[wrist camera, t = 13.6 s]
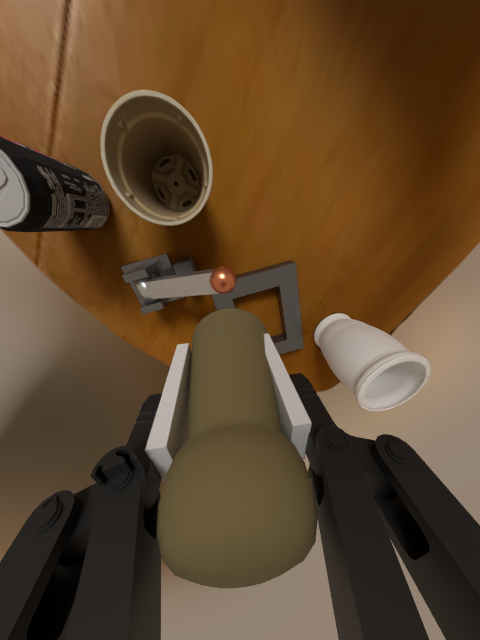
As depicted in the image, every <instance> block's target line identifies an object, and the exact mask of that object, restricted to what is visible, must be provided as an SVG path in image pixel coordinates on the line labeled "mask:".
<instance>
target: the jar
mask: <svg viewBox="0 0 480 640" xmlns="http://www.w3.org/2000/svg"><path fill="white" fill-rule="evenodd" d="M314 340H315V343H316V344H317V345H318V346H319V347H320V348H321V351H322V354H323V356H324V357H325V359H326V361H327V363H328V365H329V366H330V368H331V370H332V371H333V373H334V374H335V375H336V377H337V378H338V379H339V380H340V381H341V382H342V383H343V384H344V385H345V386H346V387H347V388H348V389H349V390H350V391H352V392H353V393H354V394H355V398H356V400H357V401H358V403H359V404H360V405H361V406H362V407H363V408H364V409H367V410H370V411H382V410H387V409H390V408H393V407H396V406H398V405H400V404H402V403H404V402H406V401H407V400H409V399H410V398H412V397H413V396H414V395H415V394H417V393H418V392H419V391H420V390H421V388H422V387H423V386H424V385H425V384H426V382H427V381H428V379H429V377H430V374H431V363H430V361H429V360H428V359H427V358H426V357H424V356H422V355H421V354H418V353H416V352H411V351H408V350H407V348H406V347H404V346H403V345H402V344H401V343H400V342H399V341H397V340H396V339H395V338H393V337H392V336H390V335H389V334H387V333H386V332H384V331H382V330H380V329H378V328H375V327H373V326H370V325H367V324H365V323H363V322H361V321H358V320H354V319H351V318H350V317H349V316H348V315H346V314H342V313H337V314H332V315H330V316H328V317H326V318H325V319H323V320H322V321H321V322H320V323H319V324H318V326H317V327H316V329H315V332H314Z"/></svg>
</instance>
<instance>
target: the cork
mask: <svg viewBox="0 0 480 640" xmlns="http://www.w3.org/2000/svg"><path fill="white" fill-rule="evenodd" d="M264 334H267V330H266V327H265V326H264V324H263V323H262V322H261V320H260V319H259V318H258V317H256V316H255V315H253V314H252V313H250V312H248V311H244V310H241V309H237V308H235V309H221V310H218V311H215V312H212V313H210V314H209V315H207V316H206V317H204V318H203V319H202V320H201V321H200V322H199V324H198V325H197V326H196V328H195V330H194V334H193V338H192V353H191V373H190V393H189V413H188V434H187V442H186V443H185V444H184V445H183V446H182V447H181V448H180V449H179V451H178V452H177V453H176V454H175V457H174V459H173V461H172V463H171V465H170V468H169V470H168V472H167V475H166V478H165V482H164V485H163V489H162V494H161V497H160V501H159V505H158V515H157V538H158V543H159V548H160V553H161V558H162V559H163V561H164V563H165V564H166V565H167V566H168V568H169V569H170V570H171V571H172V572H173V573H174V575H175V576H178V577H181V578H183V579H186V580H189V581H191V582H195V583H197V584H200V585H204V586H210V587H217V588H238V587H247V586H252V585H256V584H260V583H263V582H266V581H269V580H271V579H273V578H276V577H278V576H280V575H282V574H283V573H285V572H287V571H288V570H290V569H291V568H293V567H294V566H296V565H298V564H299V563H301V562H302V561H304V559H305V558H306V556H307V555H308V553H309V551H310V550H311V548H312V546H313V545H314V543H315V540H316V529H317V519H318V516H317V509H316V502H315V495H314V490H313V487H312V483H311V480H310V477H309V475H308V472H307V469H306V466H305V463H304V461H303V459H302V457H301V456H300V454H299V452H298V450H297V449H296V447H295V445H294V444H293V443H292V442H291V441H290V440H288V439H287V438H286V437H285V436H284V435H283V434H282V431H281V424H280V417H279V410H278V404H277V399H276V394H275V389H274V384H273V380H272V377H271V373H270V369H269V366H268V362H267V358H266V355H265V342H264Z"/></svg>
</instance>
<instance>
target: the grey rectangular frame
mask: <svg viewBox="0 0 480 640" xmlns="http://www.w3.org/2000/svg"><path fill="white" fill-rule="evenodd" d="M236 278H237V282H236V286H235V288H234V289H233V290H232V291H231V292H229V293H227V294H220V293H219V294H211V295H212V298H213V301H214V304H215V307H216V309H217V311H218V310H221V309H235V306H234V303H233V299H234V298H238V297H241V296H245V295H249V294H252V293H256V292H259V291H263V290H267V289H270V288H274V287H276V288H277V295H278V301H279V308H280V314H281V321H282V328H283V334H281V335H277V336H274V337H270V338H271V340H272V342H273V344H274V346H275V348H276V350H277V352H278V354H283V353H286V352H290V351H294V350H297V349H301V348H304V347H303V337H302V326H301V315H300V304H299V294H298V283H297V272H296V263H295V262H293V261H291V260H289V261H286V262H282V263H279V264H275V265H271V266H268V267H264V268H261V269H257V270H254V271H250V272H246V273H243V274H239V275H236Z"/></svg>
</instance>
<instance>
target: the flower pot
mask: <svg viewBox="0 0 480 640" xmlns="http://www.w3.org/2000/svg"><path fill="white" fill-rule="evenodd" d="M100 143H101V145H100V146H101V156H102V161H103V166H104V169H105V172H106V175H107V177H108V179H109V181H110V183H111V185H112V187H113V189H114V190H115V192H116V194H117V195H118V196H119V198H120V199H121V200H122V201H123V202H124V203H125V205H126V206H127V207H128V208H130V209H131V210H132V211H133V212H134V213H136V214H137V215H138V216H140V217H141V218H143V219H145V220H147V221H150V222H152V223H155V224H159V225H165V226H174V225H179V224H183V223H185V222H187V221H189V220H191V219H192V218H194V217H195V216H196V215H197V214H198V213H199V212H200V211H201V210H202V208H203V207H204V206H205V204H206V202H207V200H208V197H209V194H210V191H211V186H212V178H213V170H212V160H211V155H210V151H209V148H208V145H207V142H206V140H205V137H204V135H203V133H202V131H201V129H200V128H199V126H198V124H197V123H196V121H195V120H194V119H193V117H192V116H191V115H190V114H189V113H188V112H187V110H186V109H185V108H184V107H182V106H181V105H180V104H179V103H178V102H176V101H175V100H173V99H172V98H170V97H168V96H166V95H164V94H161V93H159V92H155V91H151V90H137V91H133V92H130V93H128V94H126V95H124V96H122V97H121V98H120V99H118V100H117V101H116V102H115V103H114V105H113V106H112V107H111V108H110V110H109V111H108V113H107V115H106V117H105V120H104V122H103V127H102V131H101V142H100ZM164 159H168V160H169V162H168V163H166V164H164V165H163V166H162V167H161V166H160V163H161V162H162V161H163V160H164ZM189 169H190V170H191V171H192V172H193V173H194V175H195V177H196V180H193V178H192V176H191V174H190V172H189ZM175 182H177V183H178V185H177V186H175ZM159 189H160V190H161V192H162V193H163V195H164V199H163V197H162V196H161V195H160V193H159ZM189 200H190V201H191V204H190V205H188V206H186V207H184V206H183V203H185V202H187V201H189Z"/></svg>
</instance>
